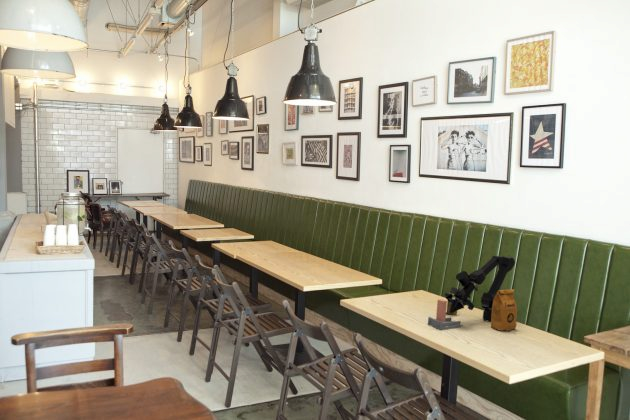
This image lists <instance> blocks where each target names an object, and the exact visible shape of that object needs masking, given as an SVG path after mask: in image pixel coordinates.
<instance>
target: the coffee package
mask: <svg viewBox="0 0 630 420" xmlns="http://www.w3.org/2000/svg"><path fill="white" fill-rule="evenodd" d="M514 293H515V289H499V290H498V292H497V294H496V296H495V298H494V300H493V305H492V314H491V321H490V327H491V328H492V329H494V330H495V329H496V330H498V331H511V330H512V331H513V330H515V329H516V328H517V316H518V307H517V302H516V301H515V298H514Z"/></svg>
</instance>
